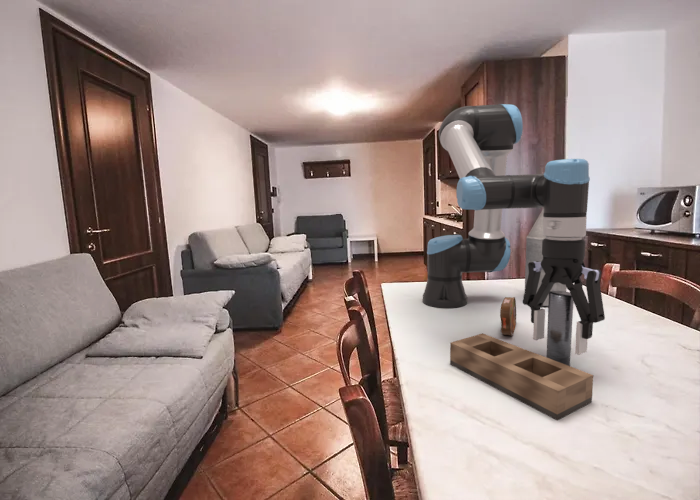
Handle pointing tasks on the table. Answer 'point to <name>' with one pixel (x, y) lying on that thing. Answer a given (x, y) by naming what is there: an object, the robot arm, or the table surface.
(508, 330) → the tin
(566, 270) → the robot arm
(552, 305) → the pin
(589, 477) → the table surface
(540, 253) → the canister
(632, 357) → the table surface
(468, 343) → the bore block
